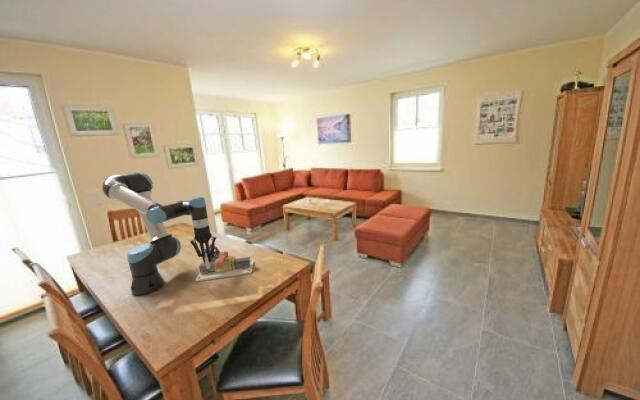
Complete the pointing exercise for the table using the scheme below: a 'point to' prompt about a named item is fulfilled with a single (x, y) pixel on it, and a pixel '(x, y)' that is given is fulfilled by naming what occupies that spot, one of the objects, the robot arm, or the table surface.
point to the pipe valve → (226, 265)
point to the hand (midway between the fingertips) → (208, 267)
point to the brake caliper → (215, 254)
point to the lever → (222, 259)
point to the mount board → (225, 273)
